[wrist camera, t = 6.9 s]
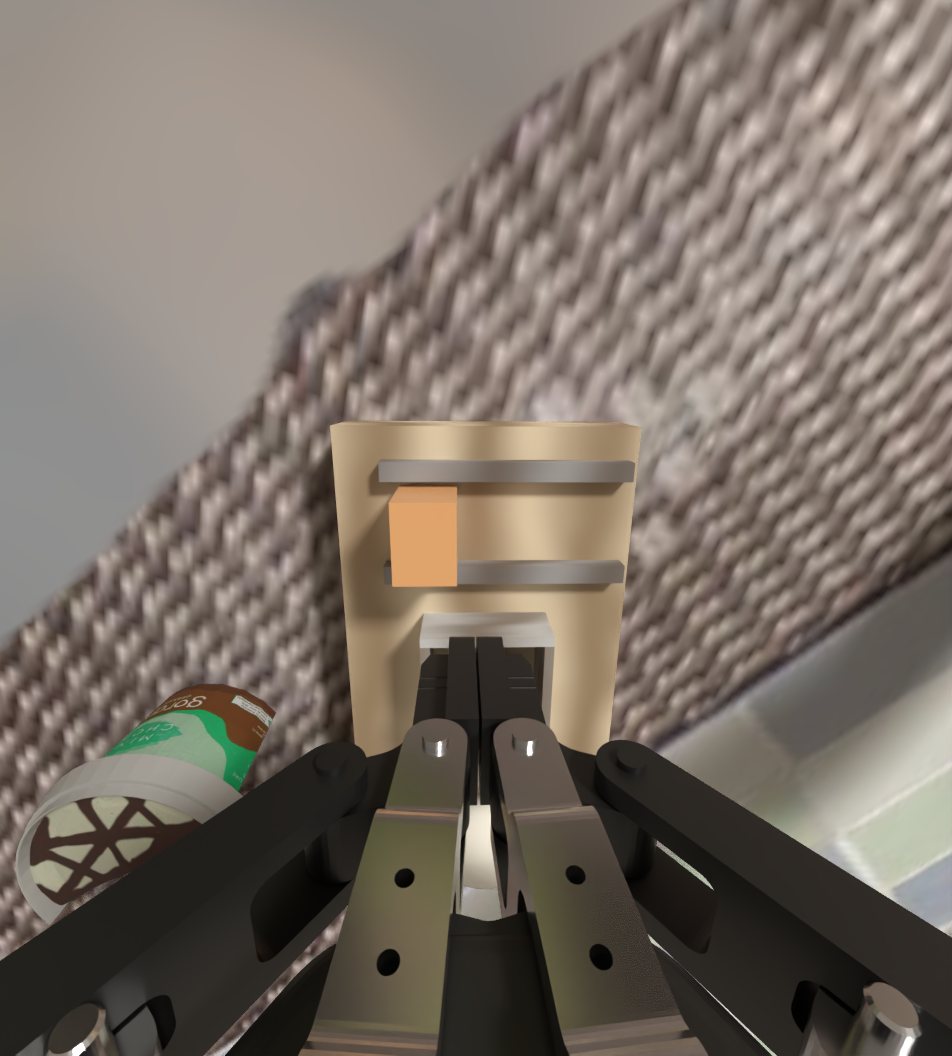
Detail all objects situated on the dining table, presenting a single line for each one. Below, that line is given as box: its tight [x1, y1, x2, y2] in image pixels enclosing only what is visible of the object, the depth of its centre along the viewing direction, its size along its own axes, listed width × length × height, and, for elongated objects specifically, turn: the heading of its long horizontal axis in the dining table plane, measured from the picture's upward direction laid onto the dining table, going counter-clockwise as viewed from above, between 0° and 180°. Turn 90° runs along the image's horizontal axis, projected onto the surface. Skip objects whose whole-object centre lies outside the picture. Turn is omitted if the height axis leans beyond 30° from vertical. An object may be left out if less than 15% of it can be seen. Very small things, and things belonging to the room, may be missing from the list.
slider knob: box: [389, 485, 457, 587], centre depth 23 cm, size 3×4×4 cm
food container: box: [15, 684, 276, 925], centre depth 28 cm, size 12×6×10 cm, turn 121°
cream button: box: [463, 793, 497, 889], centre depth 27 cm, size 5×5×2 cm
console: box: [330, 421, 641, 794], centre depth 29 cm, size 16×28×7 cm, turn 0°
